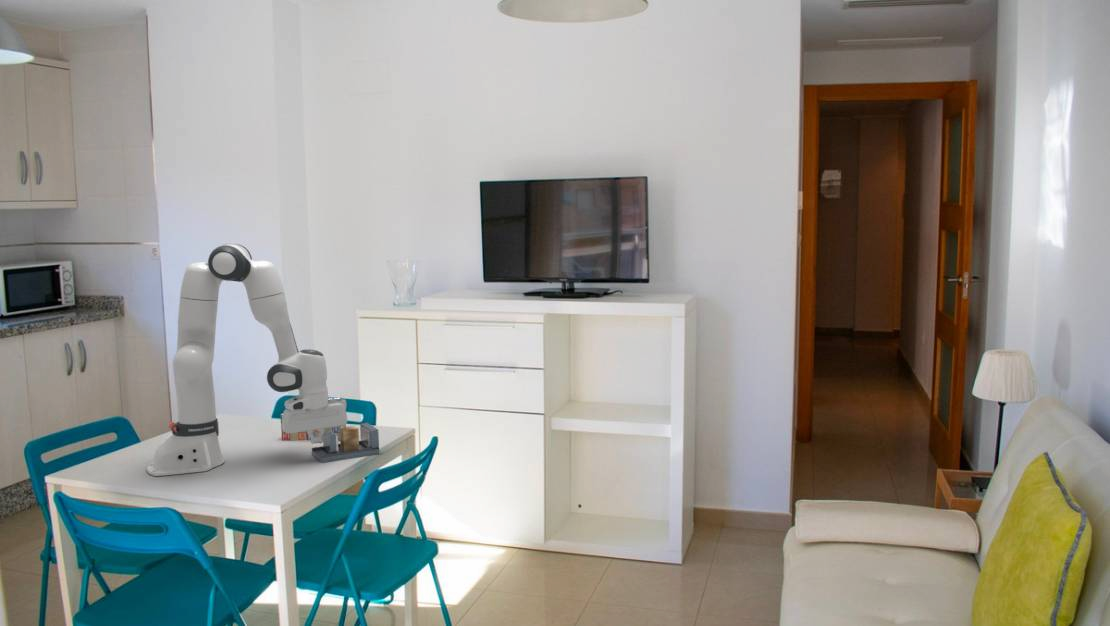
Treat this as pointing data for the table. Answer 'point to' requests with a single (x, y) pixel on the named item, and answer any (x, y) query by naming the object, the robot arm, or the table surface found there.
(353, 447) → the oak block
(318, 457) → the vise base
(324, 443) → the sliding jaw
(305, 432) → the stack of blocks
